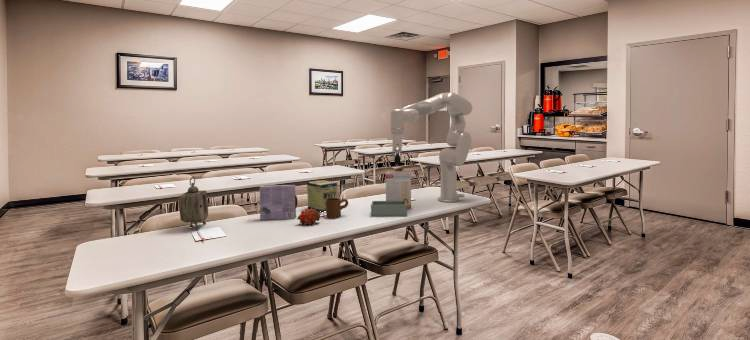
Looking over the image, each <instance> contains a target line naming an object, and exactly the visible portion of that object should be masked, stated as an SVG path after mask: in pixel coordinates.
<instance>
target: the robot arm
mask: <svg viewBox="0 0 750 340" xmlns="http://www.w3.org/2000/svg"><path fill="white" fill-rule="evenodd" d="M445 108H447V109H446V110H447V113H448V114H449V117H450V120H451V123H450V127H449V129H448V132H447V137H446V144H447V146H449V147H446V148H445V147H444V148H443V149H440V151H439V154H438V159H439V160H438V161H439V165H440V196H438V198H437V200H438V202H443V203H456V202H459V201H460V198H465V193H464V194H462V193H458V191H457V185H458V184H457V177H458V176H457V174H458V173H457V167H456V166H462V165H463V164H464V163H465V162H466V160H467V158H468V155H469V151H470V148H471V146H472V136H471V134H470V133H469V132H468V131H465V128H466V120H465V117H464V116H468V115H470V114H471V113H472V111H473V104H472V103H471V101H469V100H468V99H466V98H465V97H463V96H462V95H460V94H457V93H455V92H453V91H452V92H451V91H450V92H442V93H438V94H436V95H433V96H431V97H430V98H427V99H423V100H422V101H418V102H415V103H413V104H409V105H406V106H404V107H402V108H396V109H395V108H393V109H391V110H390V135H392V141H391V142H392V143H391V144H392V150H391V151H392V153H394V165H401V152H402V150H403V149H402V148H403V135H405V123H415V122H416V121H418V120H419V118H420V117H421V116H427V115H431V114H435V112H437V111H440V110H443V109H445ZM450 147H451V148H450ZM452 147H453V148H452Z"/></svg>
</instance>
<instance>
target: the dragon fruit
mask: <svg viewBox="0 0 750 340" xmlns="http://www.w3.org/2000/svg"><path fill="white" fill-rule="evenodd" d="M320 218H321V212H319V211H318V210H315V209H314V210H313V209H312V208H311V209H308V208H305V209H304V210H301V212H300V214H299V216H297V217H296V220H298V221H299V223H300V224H301V225H309V226H310V225H314V224H316V222H317V221H320Z"/></svg>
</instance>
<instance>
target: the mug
mask: <svg viewBox="0 0 750 340" xmlns="http://www.w3.org/2000/svg"><path fill="white" fill-rule="evenodd" d="M342 203H345V204H343V205H342ZM348 206H349V200H348V199H346V198H342V199H340V198H338V197H337V198H329V199H326V212H325V214H326V215H325V216H326V218H327V219H338V218H341V215H342V213H341V211H342V210H343V209H346V208H347V207H348Z"/></svg>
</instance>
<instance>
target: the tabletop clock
mask: <svg viewBox="0 0 750 340" xmlns="http://www.w3.org/2000/svg"><path fill="white" fill-rule="evenodd" d="M192 180H194V181H193V182H192ZM195 184H196V178H195V177H194V176H191V177H190V178H189V185H190V186H189V187H188V188H187V191H186V192H184V193H183V194H181V195H180V196H179V198H178V206H179V217H180V221H181V222H184V223H190V224H189V228H190V227H192V228H193V227H194V225H195V230H196V229H199V230H200V227H199V226H198V223H202V225H206V224H207V222H206V219H207V218H208V216H209V202H208V194H207V193H208V192H207V190H200V189H199V187H197V186H195ZM193 224H194V225H193Z"/></svg>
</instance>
